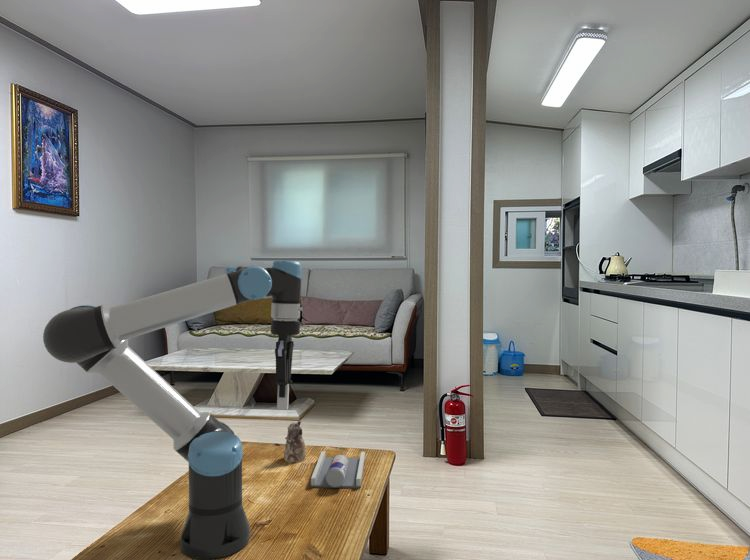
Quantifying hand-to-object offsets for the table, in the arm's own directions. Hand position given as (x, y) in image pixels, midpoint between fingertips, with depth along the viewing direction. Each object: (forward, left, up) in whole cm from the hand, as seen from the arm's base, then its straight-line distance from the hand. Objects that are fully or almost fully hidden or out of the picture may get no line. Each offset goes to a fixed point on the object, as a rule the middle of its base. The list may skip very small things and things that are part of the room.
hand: (282, 408), depth 134 cm
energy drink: (+9, -13, -22) cm, 27 cm away
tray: (+22, -13, -26) cm, 36 cm away
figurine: (+33, +3, -26) cm, 42 cm away
